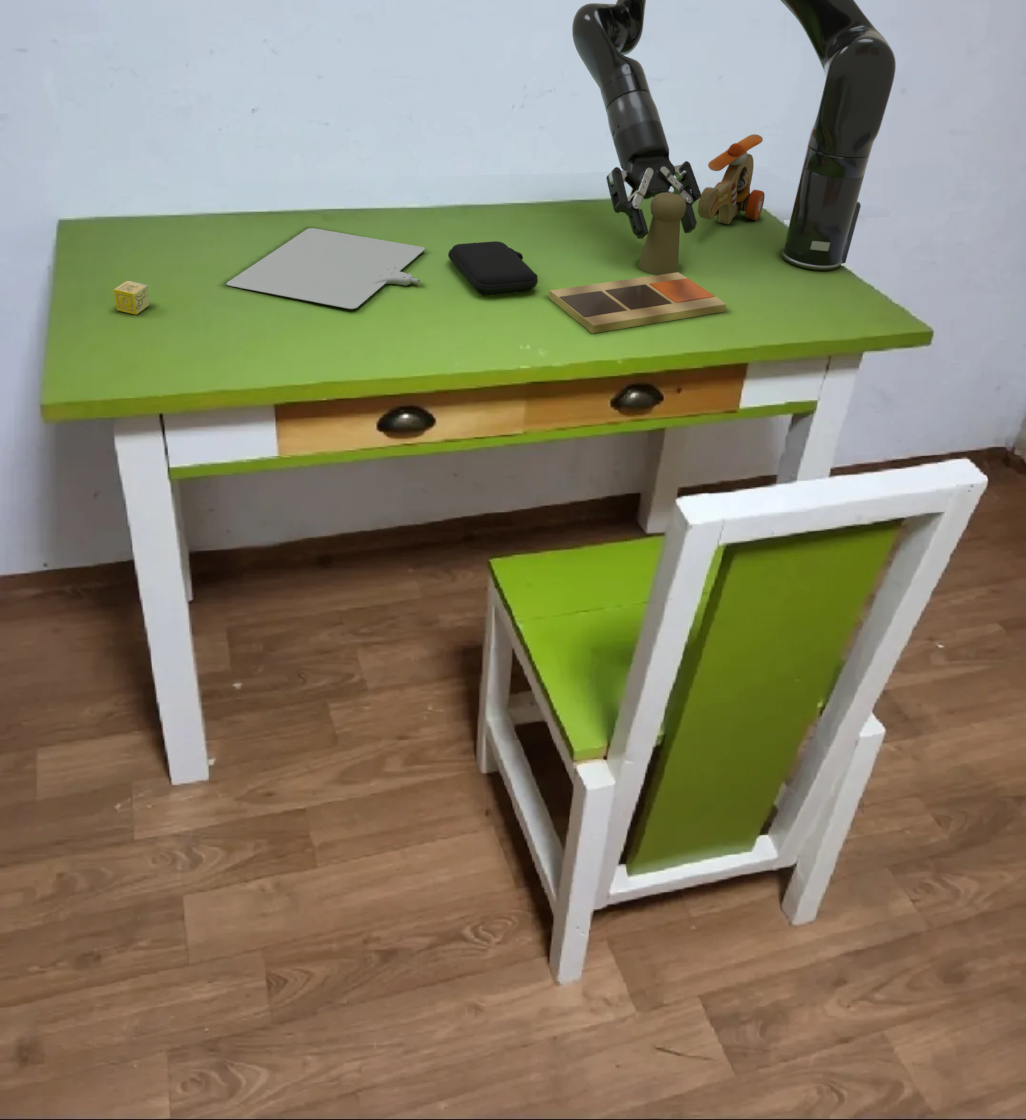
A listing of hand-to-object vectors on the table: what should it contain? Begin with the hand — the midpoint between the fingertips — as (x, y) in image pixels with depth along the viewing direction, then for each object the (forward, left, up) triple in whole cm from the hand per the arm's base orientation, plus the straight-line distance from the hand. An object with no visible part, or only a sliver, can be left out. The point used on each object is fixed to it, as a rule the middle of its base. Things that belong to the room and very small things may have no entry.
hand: (667, 233), depth 158 cm
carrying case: (+26, -5, -6) cm, 27 cm away
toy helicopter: (-22, -14, -6) cm, 26 cm away
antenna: (+46, -14, -6) cm, 48 cm away
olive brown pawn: (0, -1, -6) cm, 6 cm away
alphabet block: (+76, -10, -6) cm, 77 cm away
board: (+11, +10, -6) cm, 16 cm away
